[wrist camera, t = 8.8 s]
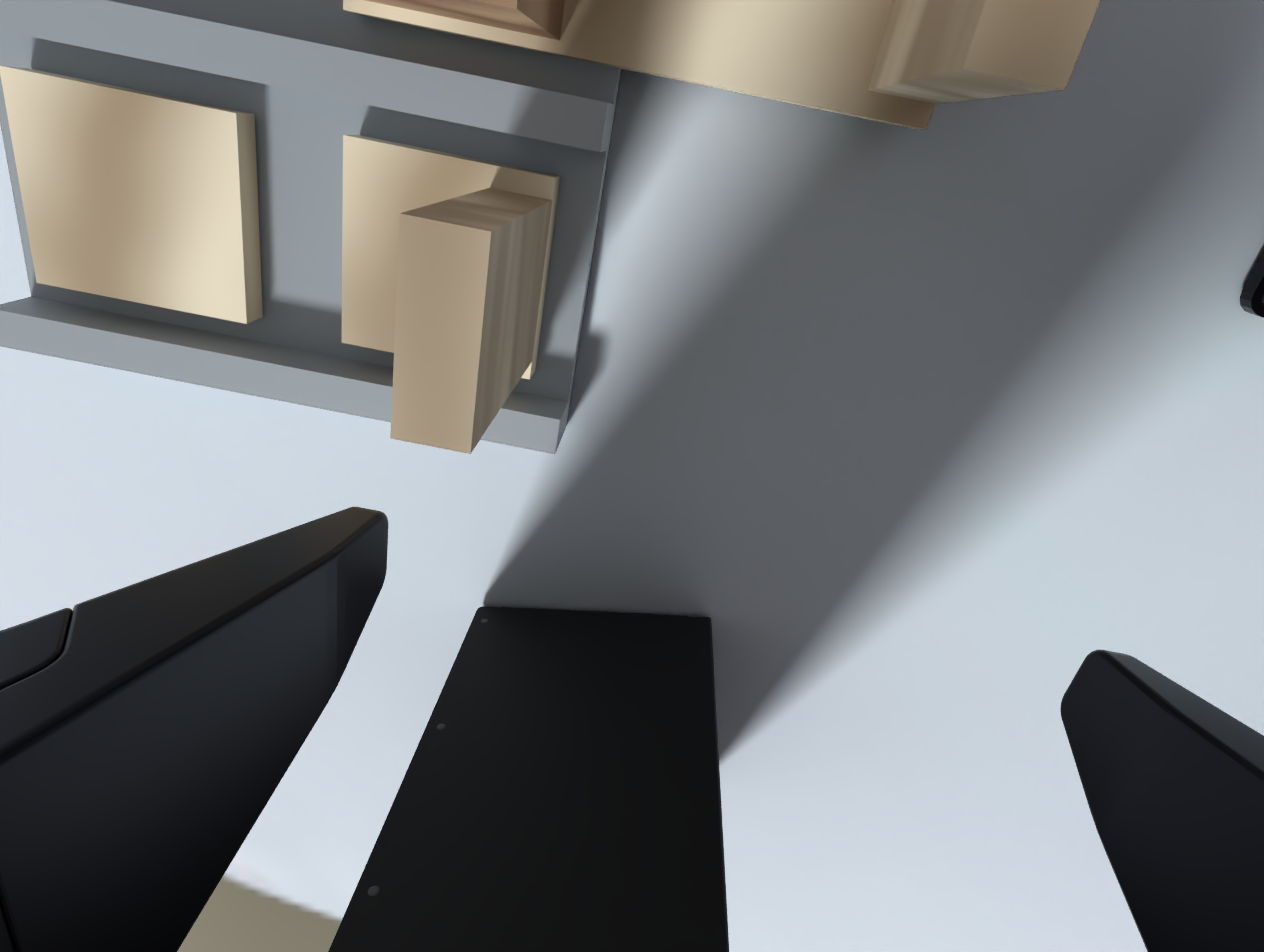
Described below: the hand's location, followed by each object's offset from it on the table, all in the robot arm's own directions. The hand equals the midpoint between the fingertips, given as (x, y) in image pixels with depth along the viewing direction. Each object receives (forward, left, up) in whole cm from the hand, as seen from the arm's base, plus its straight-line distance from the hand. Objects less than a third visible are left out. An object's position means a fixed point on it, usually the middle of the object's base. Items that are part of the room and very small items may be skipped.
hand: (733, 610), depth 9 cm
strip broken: (+11, -1, -12) cm, 16 cm away
